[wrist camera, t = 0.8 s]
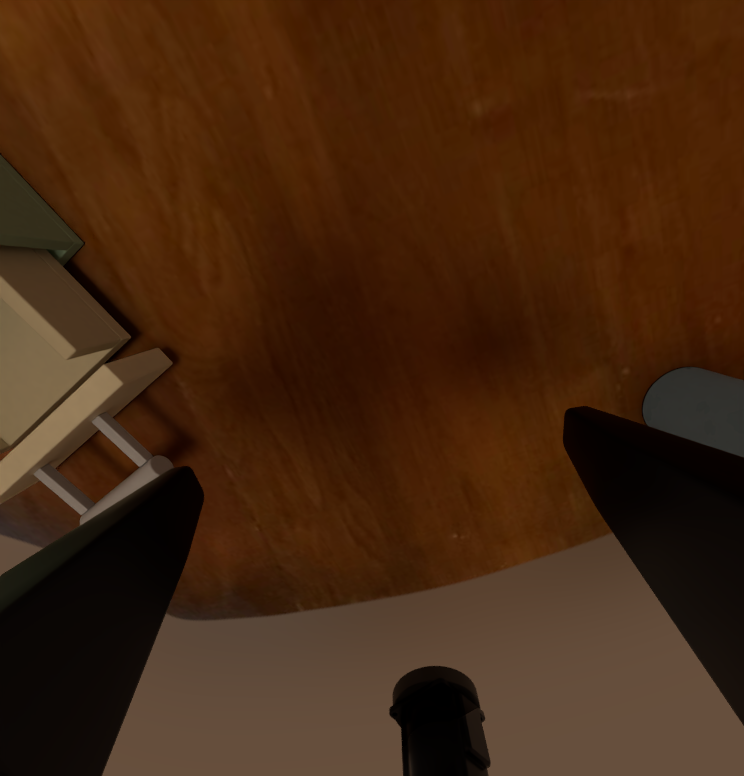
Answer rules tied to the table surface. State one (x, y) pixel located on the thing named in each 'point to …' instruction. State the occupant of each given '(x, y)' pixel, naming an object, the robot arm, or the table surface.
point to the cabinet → (31, 219)
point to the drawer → (63, 380)
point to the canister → (698, 408)
